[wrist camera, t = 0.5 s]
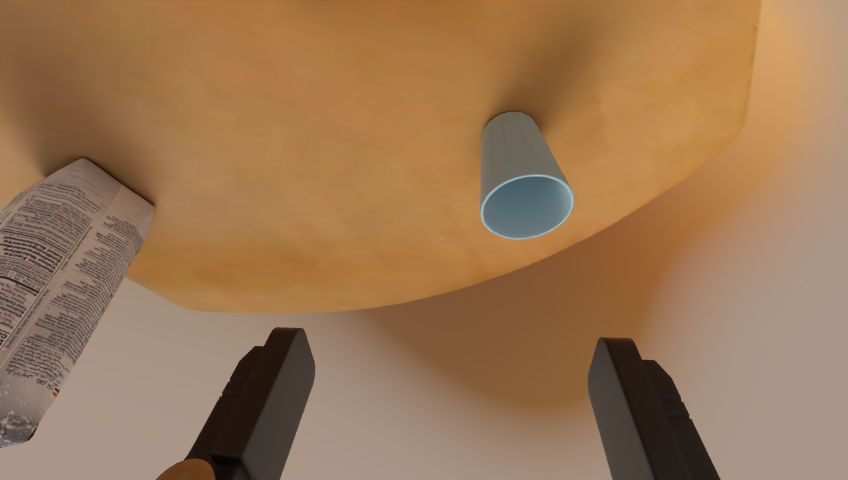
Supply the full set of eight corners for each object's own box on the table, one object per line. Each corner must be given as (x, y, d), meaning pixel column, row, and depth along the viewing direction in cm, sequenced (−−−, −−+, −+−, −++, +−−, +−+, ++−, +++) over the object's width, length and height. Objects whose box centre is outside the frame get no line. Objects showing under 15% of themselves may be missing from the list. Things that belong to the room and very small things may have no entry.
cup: (480, 173, 45) (491, 247, 38) (460, 115, 39) (470, 189, 33) (551, 153, 43) (577, 228, 36) (541, 89, 37) (569, 163, 31)
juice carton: (79, 144, 41) (-168, 429, 24) (170, 209, 49) (31, 465, 31) (29, 175, 44) (-224, 448, 27) (121, 232, 52) (-31, 477, 34)
